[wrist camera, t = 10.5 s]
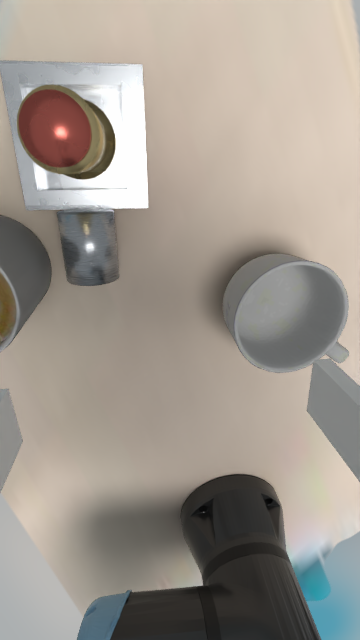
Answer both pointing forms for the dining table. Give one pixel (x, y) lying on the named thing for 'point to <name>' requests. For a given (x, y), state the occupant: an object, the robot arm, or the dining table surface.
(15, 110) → the flange seat
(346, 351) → the teacup
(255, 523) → the robot arm
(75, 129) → the cylinder
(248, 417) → the dining table surface
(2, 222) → the coffee mug
